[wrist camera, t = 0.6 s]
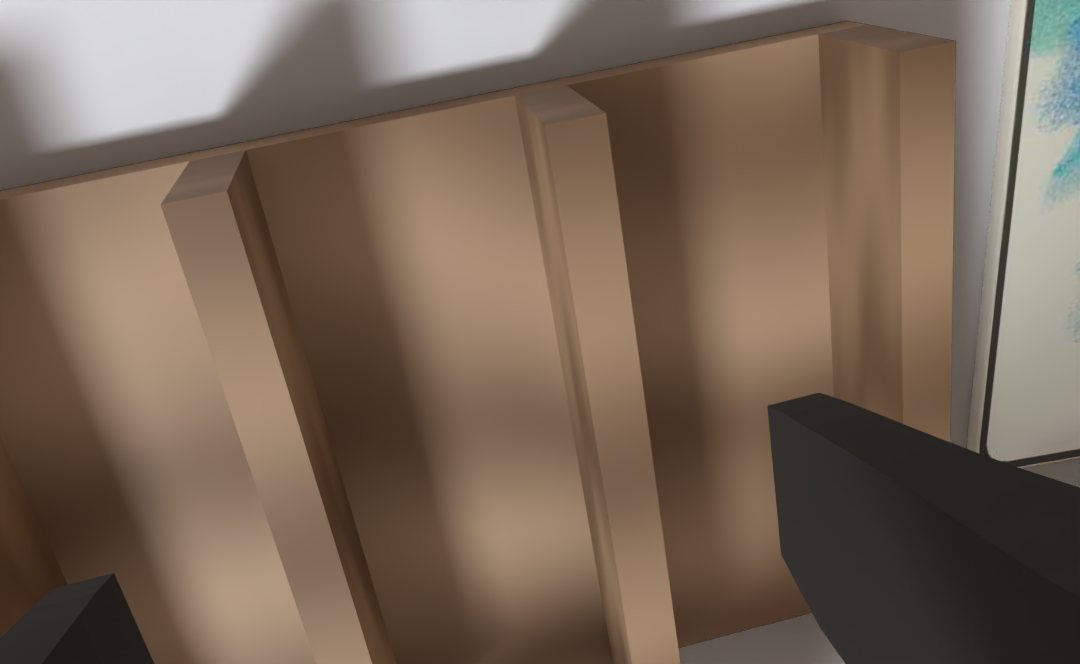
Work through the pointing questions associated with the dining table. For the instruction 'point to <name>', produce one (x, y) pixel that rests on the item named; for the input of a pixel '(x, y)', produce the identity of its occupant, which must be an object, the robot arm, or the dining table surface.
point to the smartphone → (1033, 249)
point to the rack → (476, 357)
